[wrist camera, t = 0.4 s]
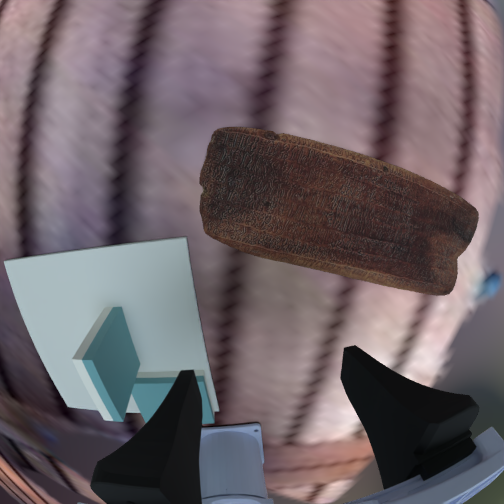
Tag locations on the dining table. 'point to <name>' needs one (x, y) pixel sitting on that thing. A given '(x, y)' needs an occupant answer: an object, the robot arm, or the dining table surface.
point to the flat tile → (166, 392)
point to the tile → (108, 363)
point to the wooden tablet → (332, 210)
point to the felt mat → (112, 295)
